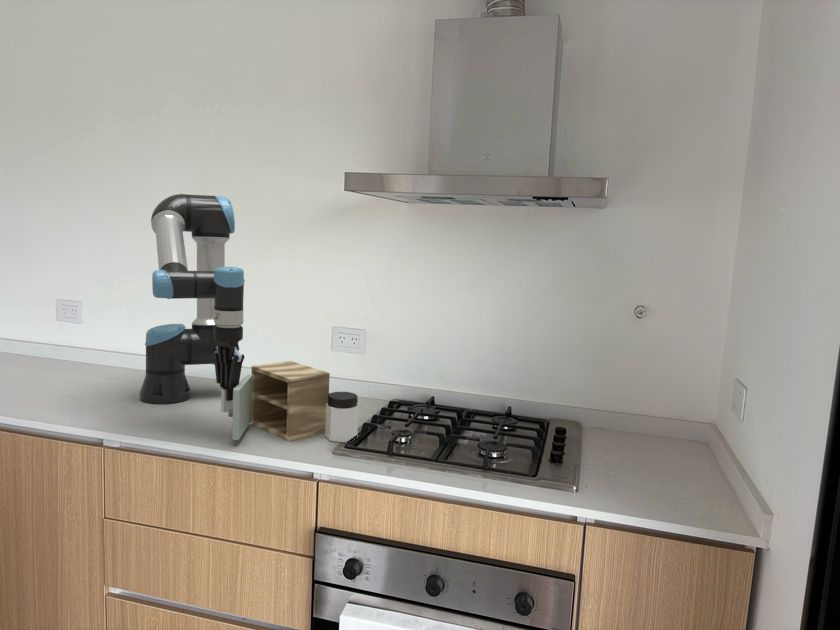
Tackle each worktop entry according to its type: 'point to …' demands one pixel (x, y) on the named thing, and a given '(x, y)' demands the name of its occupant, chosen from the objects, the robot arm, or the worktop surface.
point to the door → (241, 407)
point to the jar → (341, 416)
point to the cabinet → (289, 399)
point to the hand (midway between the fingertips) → (226, 411)
